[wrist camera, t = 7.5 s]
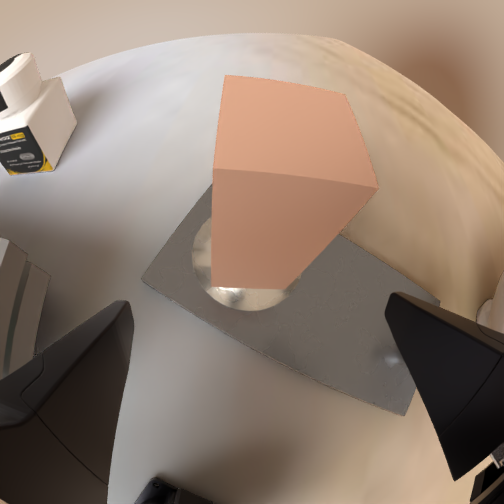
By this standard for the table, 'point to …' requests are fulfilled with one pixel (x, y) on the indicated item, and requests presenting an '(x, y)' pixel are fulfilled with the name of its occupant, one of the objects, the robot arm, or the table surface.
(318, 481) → the table surface
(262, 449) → the table surface
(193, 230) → the drilled plate
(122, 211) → the table surface
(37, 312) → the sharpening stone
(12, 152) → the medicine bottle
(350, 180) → the post
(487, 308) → the ceramic pitcher
